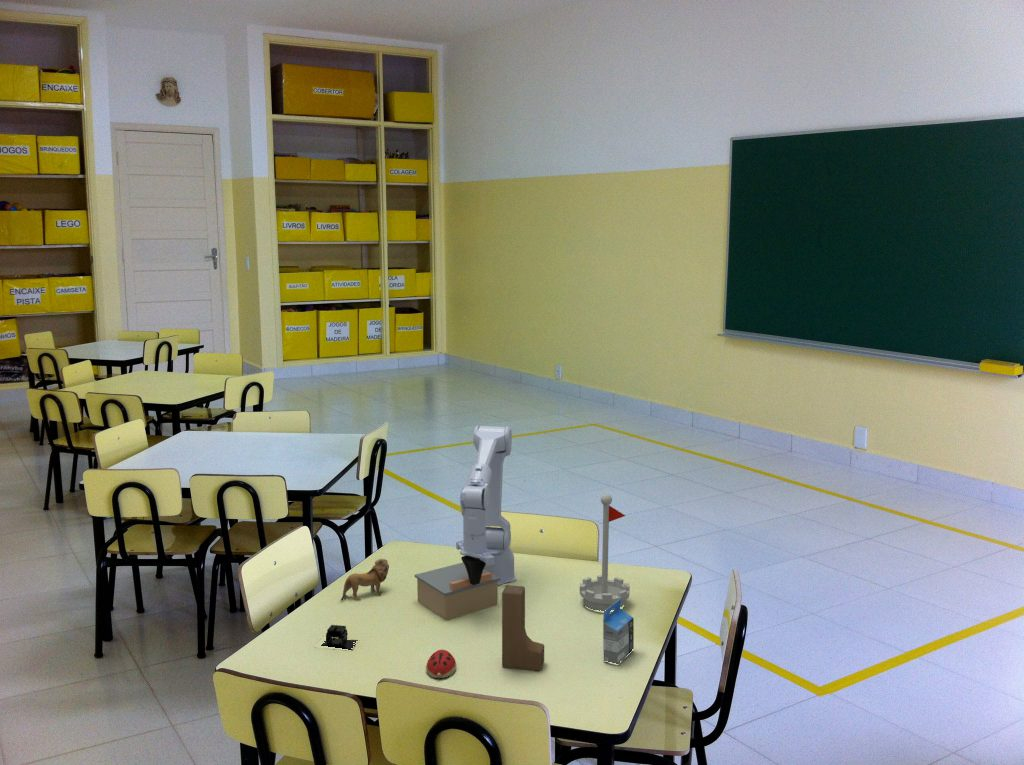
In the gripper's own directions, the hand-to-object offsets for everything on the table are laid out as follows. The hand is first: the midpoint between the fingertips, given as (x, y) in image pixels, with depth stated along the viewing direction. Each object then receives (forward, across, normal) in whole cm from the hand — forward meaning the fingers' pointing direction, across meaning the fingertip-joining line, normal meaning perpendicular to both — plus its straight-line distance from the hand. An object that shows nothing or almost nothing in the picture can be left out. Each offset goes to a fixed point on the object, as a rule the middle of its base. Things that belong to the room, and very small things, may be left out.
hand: (475, 583), depth 226 cm
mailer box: (+8, -8, 0) cm, 12 cm away
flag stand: (+9, +15, +31) cm, 35 cm away
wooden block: (+8, +29, -6) cm, 31 cm away
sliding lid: (+2, -8, 0) cm, 8 cm away
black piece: (+9, -6, -36) cm, 37 cm away
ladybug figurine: (+9, +20, -22) cm, 31 cm away
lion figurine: (+8, -27, -17) cm, 33 cm away
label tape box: (+8, +38, +14) cm, 42 cm away
